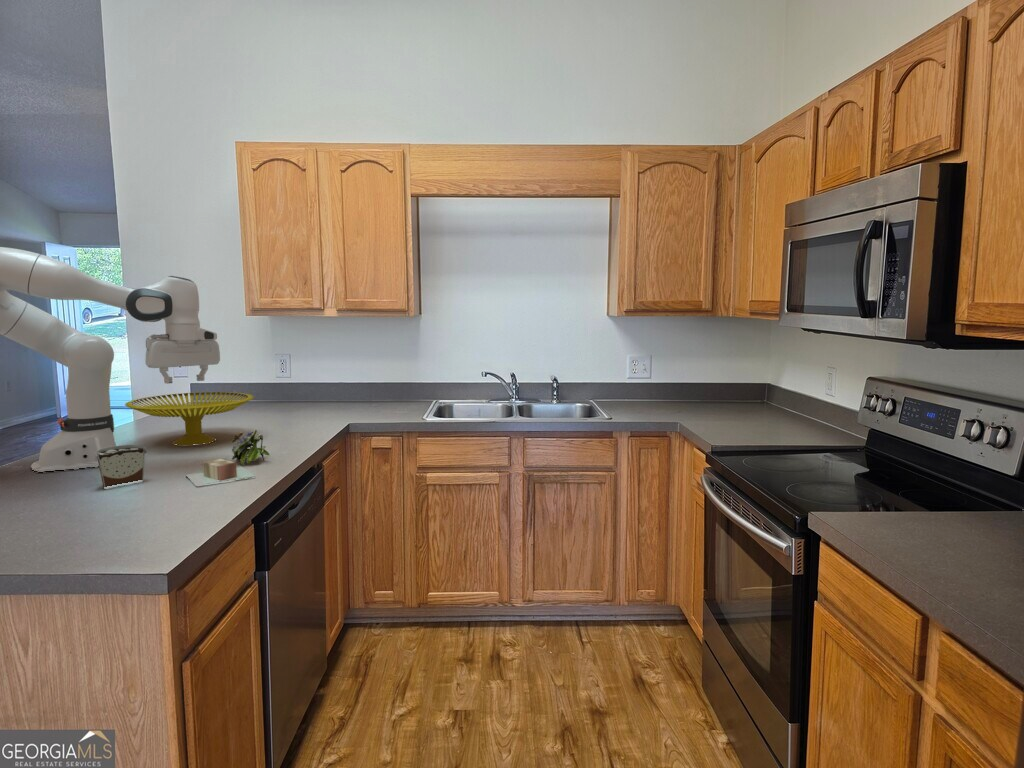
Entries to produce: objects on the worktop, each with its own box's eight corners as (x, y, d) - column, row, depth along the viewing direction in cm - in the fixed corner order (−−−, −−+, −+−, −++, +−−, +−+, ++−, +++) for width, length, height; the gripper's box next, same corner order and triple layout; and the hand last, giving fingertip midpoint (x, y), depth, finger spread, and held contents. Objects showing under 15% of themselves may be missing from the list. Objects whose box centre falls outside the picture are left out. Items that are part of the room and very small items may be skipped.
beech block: (203, 476, 180) (220, 480, 175) (202, 462, 179) (219, 466, 174) (220, 472, 184) (236, 476, 179) (219, 458, 183) (236, 462, 179)
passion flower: (240, 478, 200) (237, 442, 205) (275, 470, 201) (272, 435, 207) (226, 465, 190) (224, 429, 195) (264, 457, 191) (261, 421, 197)
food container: (140, 477, 181) (137, 442, 179) (149, 481, 177) (146, 445, 176) (90, 486, 171) (86, 450, 170) (98, 491, 167) (95, 453, 166)
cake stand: (207, 458, 203) (204, 411, 201) (98, 452, 211) (94, 406, 209) (278, 432, 242) (276, 393, 240) (183, 428, 250) (181, 390, 248)
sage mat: (196, 487, 171) (196, 485, 171) (185, 477, 181) (185, 475, 181) (255, 478, 180) (255, 476, 180) (241, 468, 190) (241, 466, 190)
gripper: (151, 335, 174) (153, 385, 176) (222, 333, 191) (223, 380, 193) (139, 334, 178) (142, 384, 179) (210, 332, 195) (211, 378, 196)
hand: (184, 382), depth 186 cm, fingers open, 8 cm apart
